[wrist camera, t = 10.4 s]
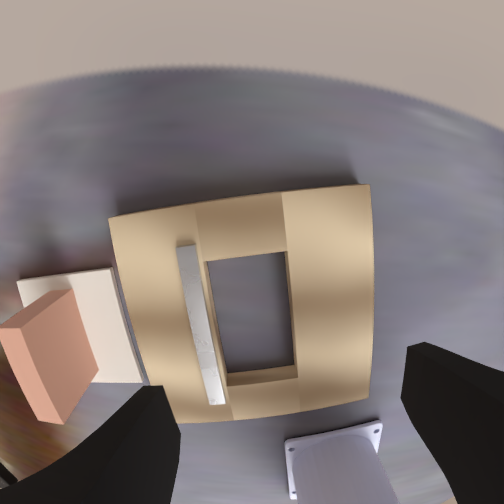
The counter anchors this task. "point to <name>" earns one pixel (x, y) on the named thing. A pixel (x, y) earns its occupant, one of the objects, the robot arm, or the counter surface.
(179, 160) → the counter surface
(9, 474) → the multiport hub
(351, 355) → the gold flat square frame
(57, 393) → the peach cuboid
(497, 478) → the robot arm
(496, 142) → the counter surface
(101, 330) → the pad
